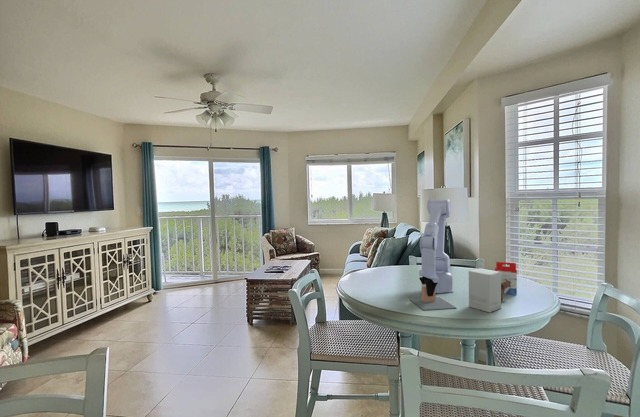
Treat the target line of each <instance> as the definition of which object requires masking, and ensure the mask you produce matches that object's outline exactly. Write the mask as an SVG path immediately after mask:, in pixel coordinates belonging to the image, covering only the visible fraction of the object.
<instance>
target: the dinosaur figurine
mask: <svg viewBox="0 0 640 417" xmlns="http://www.w3.org/2000/svg"><path fill="white" fill-rule="evenodd" d="M505 280H506V282H501V303H504V302H505V301H504V295H505V294H504V291H505V289H506V288H507V287H511V286H510V285H511V284H510V283H511V282H510V281H508V280H507V279H505Z"/></svg>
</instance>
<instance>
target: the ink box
mask: <svg viewBox="0 0 640 417" xmlns="http://www.w3.org/2000/svg"><path fill="white" fill-rule="evenodd" d="M495 265H496V266H494V271H498V272H501V282H506V280H505V279H507V280H508V281H510V282H511V283H510V284H511V285H510V286H511V287H507V288H506V289H505V291H504V295H513V296H514V295H516V296H517V294H518V293H517V292H518V290H517V288H518V284H517V281H518V278H517V263H516V262H502V261H496V263H495Z"/></svg>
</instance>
